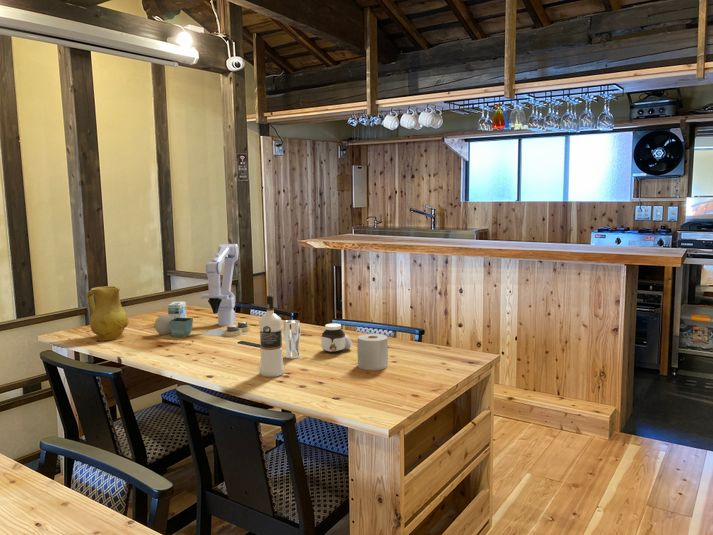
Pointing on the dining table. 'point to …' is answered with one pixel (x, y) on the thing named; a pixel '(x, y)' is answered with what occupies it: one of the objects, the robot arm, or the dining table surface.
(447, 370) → the dining table surface
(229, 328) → the cap
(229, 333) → the board
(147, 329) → the dining table surface
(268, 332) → the vodka
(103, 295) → the pitcher
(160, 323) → the ball
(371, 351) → the toilet paper roll
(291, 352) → the beer glass
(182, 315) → the light bulb box
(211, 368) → the dining table surface
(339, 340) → the spread jar
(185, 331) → the flower pot
